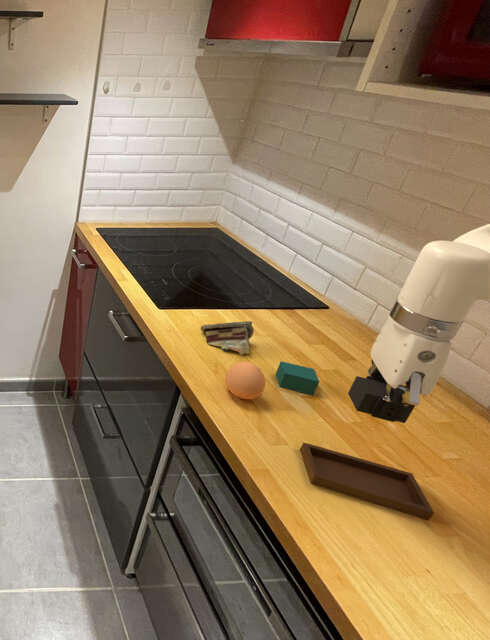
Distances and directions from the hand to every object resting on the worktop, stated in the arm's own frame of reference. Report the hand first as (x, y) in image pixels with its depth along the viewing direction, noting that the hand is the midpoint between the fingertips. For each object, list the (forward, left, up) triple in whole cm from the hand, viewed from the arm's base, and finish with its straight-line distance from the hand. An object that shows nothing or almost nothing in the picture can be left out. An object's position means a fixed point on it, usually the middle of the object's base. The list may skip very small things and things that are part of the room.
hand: (376, 406), depth 77 cm
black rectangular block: (0, 0, 0) cm, 0 cm away
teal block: (+3, -23, -15) cm, 27 cm away
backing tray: (-2, +2, -15) cm, 16 cm away
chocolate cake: (+16, -33, -15) cm, 40 cm away
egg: (+15, -14, -15) cm, 26 cm away
